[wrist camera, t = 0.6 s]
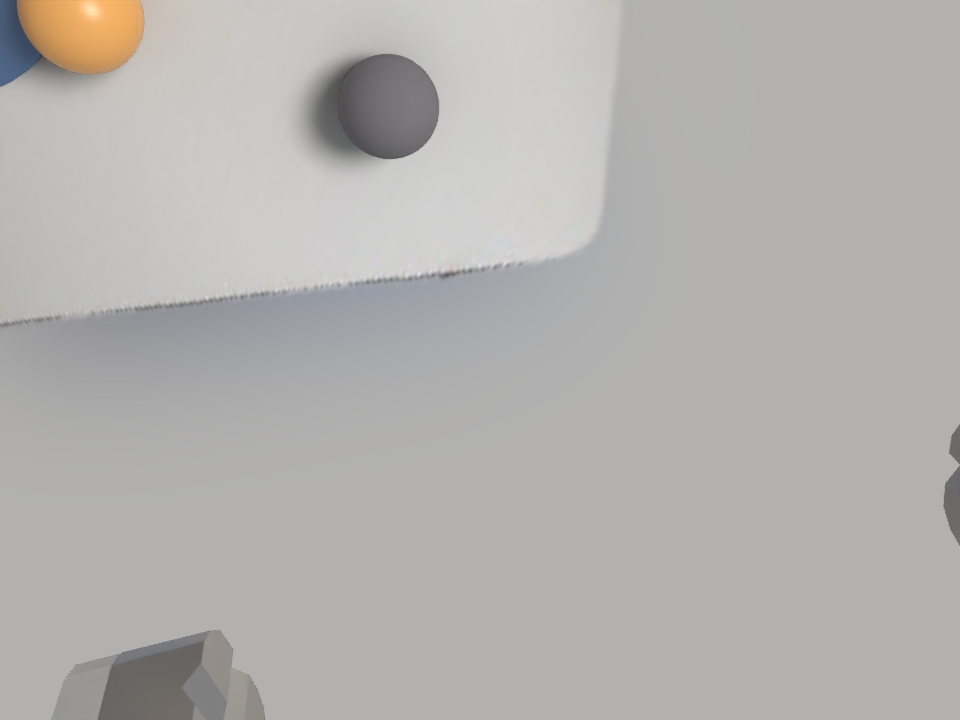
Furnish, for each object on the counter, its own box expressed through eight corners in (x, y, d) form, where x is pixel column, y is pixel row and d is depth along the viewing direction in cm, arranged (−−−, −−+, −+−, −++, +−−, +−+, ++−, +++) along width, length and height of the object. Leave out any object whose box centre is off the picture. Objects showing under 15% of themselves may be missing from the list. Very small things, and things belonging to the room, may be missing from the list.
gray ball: (316, 69, 42) (321, 107, 38) (403, 22, 41) (417, 55, 38) (365, 150, 45) (374, 192, 41) (446, 107, 45) (463, 146, 41)
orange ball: (4, -29, 37) (-26, 4, 33) (99, -85, 36) (79, -58, 32) (84, 71, 40) (65, 111, 36) (173, 21, 39) (162, 56, 35)
